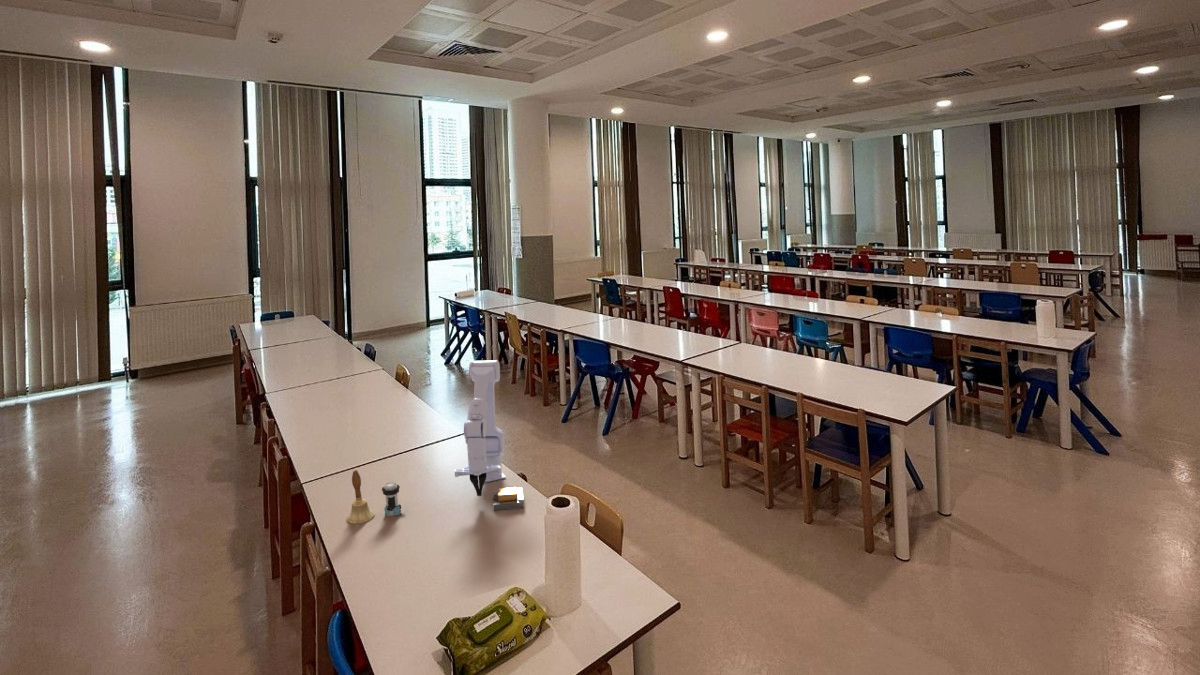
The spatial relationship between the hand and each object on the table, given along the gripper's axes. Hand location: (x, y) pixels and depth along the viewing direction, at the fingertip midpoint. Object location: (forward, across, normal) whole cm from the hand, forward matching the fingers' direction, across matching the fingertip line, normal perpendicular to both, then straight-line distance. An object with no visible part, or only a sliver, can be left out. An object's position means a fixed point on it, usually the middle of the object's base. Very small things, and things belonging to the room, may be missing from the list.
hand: (479, 494), depth 198 cm
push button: (+4, -27, 0) cm, 27 cm away
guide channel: (+4, +9, 0) cm, 10 cm away
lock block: (+4, +9, 0) cm, 10 cm away
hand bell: (+4, -37, 0) cm, 37 cm away
